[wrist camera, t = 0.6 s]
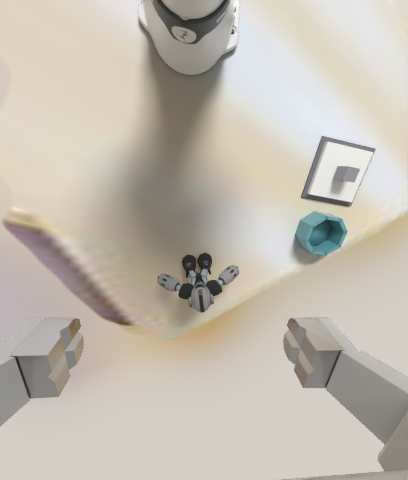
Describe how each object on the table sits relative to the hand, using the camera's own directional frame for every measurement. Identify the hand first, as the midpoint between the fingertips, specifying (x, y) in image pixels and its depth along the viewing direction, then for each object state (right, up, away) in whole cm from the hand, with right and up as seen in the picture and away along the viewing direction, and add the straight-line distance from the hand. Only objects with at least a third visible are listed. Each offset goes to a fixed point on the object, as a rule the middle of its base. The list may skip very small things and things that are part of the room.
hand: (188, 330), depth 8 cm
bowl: (+31, +6, +48) cm, 57 cm away
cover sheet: (+33, +20, +42) cm, 58 cm away
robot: (-1, -2, +48) cm, 48 cm away
